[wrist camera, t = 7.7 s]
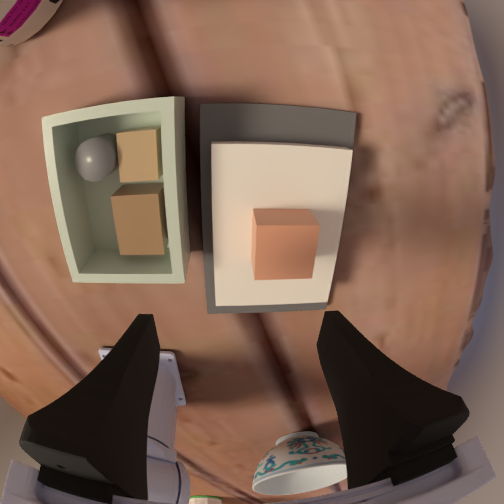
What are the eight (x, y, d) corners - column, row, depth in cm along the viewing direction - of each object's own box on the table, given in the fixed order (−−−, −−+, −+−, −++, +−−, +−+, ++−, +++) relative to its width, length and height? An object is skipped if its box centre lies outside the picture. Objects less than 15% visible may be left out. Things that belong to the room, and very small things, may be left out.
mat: (324, 305, 25) (325, 309, 25) (207, 309, 25) (207, 313, 24) (353, 112, 18) (356, 112, 17) (200, 103, 17) (199, 103, 16)
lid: (321, 288, 24) (337, 323, 20) (216, 291, 23) (215, 329, 19) (342, 145, 18) (370, 159, 15) (212, 139, 18) (208, 151, 14)
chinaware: (362, 419, 38) (376, 460, 31) (309, 457, 44) (316, 492, 38) (278, 413, 34) (286, 465, 27) (233, 453, 40) (236, 494, 34)
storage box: (190, 251, 22) (184, 283, 18) (92, 253, 21) (73, 282, 18) (184, 96, 16) (174, 96, 13) (72, 111, 16) (41, 117, 12)
